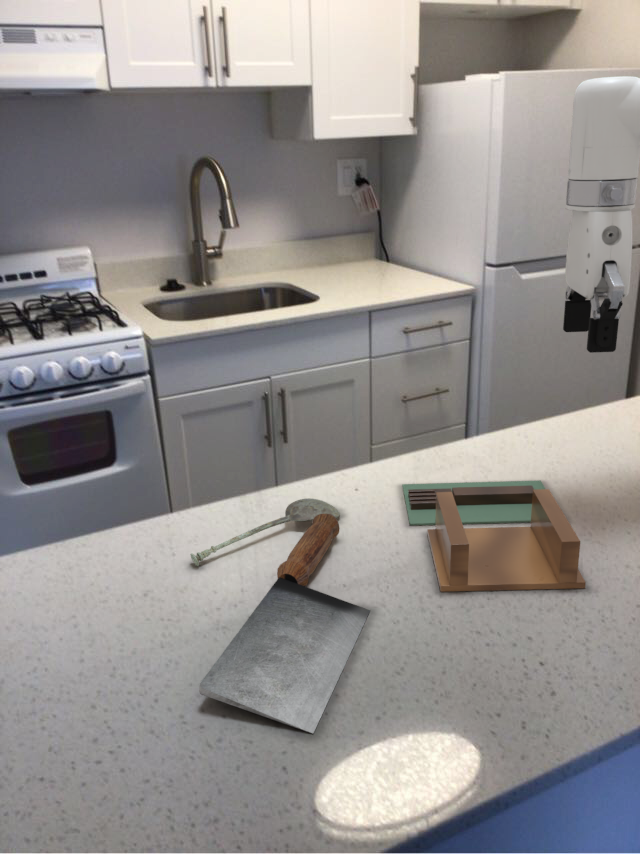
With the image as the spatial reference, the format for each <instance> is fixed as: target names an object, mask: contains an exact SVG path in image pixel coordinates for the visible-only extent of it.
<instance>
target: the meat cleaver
mask: <svg viewBox="0 0 640 854" xmlns="http://www.w3.org/2000/svg"><path fill="white" fill-rule="evenodd" d="M311 521H312V522H311V525H310V526H309V527H307V529H306V530H305V532H304V533H303V534H302V535H301V537H300V538H299V540H298V541H297V543H296V544H295V546H294V547H293V548H292V550H291V551H290V553H289V555H288V556H287V559H286V560H285V561H283V562H282V563H280V564H279V566H278V568H277V571H276V576H277V579H276V581H275V582H274V583H273V585H272V586H271V588H270V589H269V590H268V592H267V593H266V594H265V595H264V597H263V598H262V600H261V601H260V602H259V603H258V605H257V606H256V608H255V609H254V610H253V611H252V612H251V614H250V615H249V617H248V618H247V619H246V621H245V622H244V624H243V625H242V626H241V627H240V629H239V630H238V631H237V633H236V634H235V635H234V637H232V640H231V641H230V642H229V644H228V645H227V646H226V648H225V649H224V650H223V651H222V653H221V655H219V656H218V658H217V660H216V661H215V662H214V664H213V665H212V666H211V668H210V669H209V670H208V672H207V673H206V674H205V676H204V677H203V679H202V680H201V681H200V682H199V684H198V685H199V686H198V692H199V694H200V695H202V696H205V697H207V698H211V699H213V700H216V701H219V702H222V703H225V704H228V705H230V706H233V707H236V708H239V709H242V710H245V711H247V712H249V713H253V714H256V715H258V716H261V717H264V718H268V719H270V720H273V721H276V722H278V723H281V724H283V725H286V726H290V727H292V728H296V729H298V730H301V731H304V732H307V733H310V734H314V733H315V731H316V729H317V727H318V725H319V722H320V721H321V719H322V716H323V714H324V712H325V710H326V706H327V705H328V703H329V701H330V700H331V699H330V698H331V697H332V694H333V692H334V690H335V688H336V686H337V683H338V682H339V679H340V677H341V675H342V673H343V670H344V669H345V667H346V664H347V662H348V659H349V658H350V655H351V654H352V651H353V648H354V647H355V644H356V642H357V640H358V638H359V637H360V633H361V632H362V629H363V628H364V625H365V623H366V621H367V619H368V617H369V614H370V612H371V609H367V608H365V607H362V606H359V605H356V604H354V603H352V602H349V601H346V600H343V599H341V598H338V597H335V596H332V595H329V594H327V593H324V592H321V591H318V590H316V589H313V588H311V587H307V586H308V584H309V580H310V576H311V575H312V574H313V573H314V571H315V570H316V568H317V567H318V565H319V564H320V562H321V560H322V559H323V557H324V555H326V553H327V551H328V550H329V548H330V546H331V545H332V541H333V539H335V538H336V537H338V535H339V533H340V528H341V527H340V524H339V521H338V519H337V518H336V517H334V516H333V515H331V514H319V515H317V516H316V517H314V519H313V520H311Z"/></svg>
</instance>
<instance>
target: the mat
mask: <svg viewBox="0 0 640 854" xmlns="http://www.w3.org/2000/svg"><path fill="white" fill-rule="evenodd" d="M494 486H533V488H534V490H536V489H546V487H545V485H544V483H543V482H542V480H539V479H538V480H511V481H510V480H509V481H507V480H506V481H473V482H469V481H468V482H440V483H439V482H438V483H402V484H401V487H402V492H403V497H404V502H405V508H406V512H407V517H408V518H407V519H408V524H409V526H435V522H436V509H418V510H411V506H410V502H409V497H408V490H412V489H447V488H451V490H452V488H455V487H494ZM456 506H457V509H458V512H459V515H460V518H461V521H462V524H463V525H477V524H478V525H482V524H486V525H487V524H488V525H489V524H522V523H523V524H524V523H531V510H532V504H492V505H456Z"/></svg>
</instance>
